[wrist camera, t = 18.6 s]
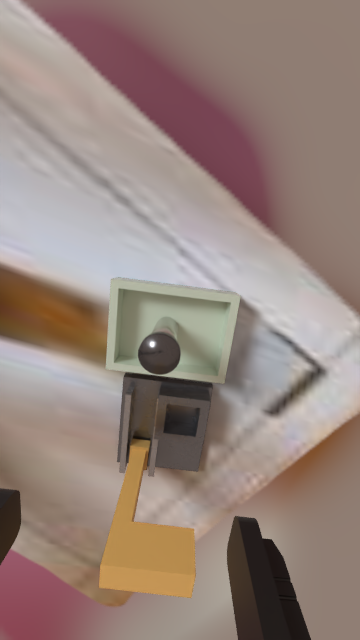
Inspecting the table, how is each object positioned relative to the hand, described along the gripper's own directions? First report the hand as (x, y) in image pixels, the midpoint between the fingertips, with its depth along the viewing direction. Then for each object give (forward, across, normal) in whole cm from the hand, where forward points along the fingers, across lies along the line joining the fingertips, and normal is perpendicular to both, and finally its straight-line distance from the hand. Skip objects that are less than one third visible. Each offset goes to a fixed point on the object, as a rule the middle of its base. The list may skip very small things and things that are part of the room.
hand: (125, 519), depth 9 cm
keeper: (+25, -1, +20) cm, 32 cm away
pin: (+25, 0, 0) cm, 25 cm away
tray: (+26, 0, 0) cm, 26 cm away
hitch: (+26, -1, +15) cm, 30 cm away
